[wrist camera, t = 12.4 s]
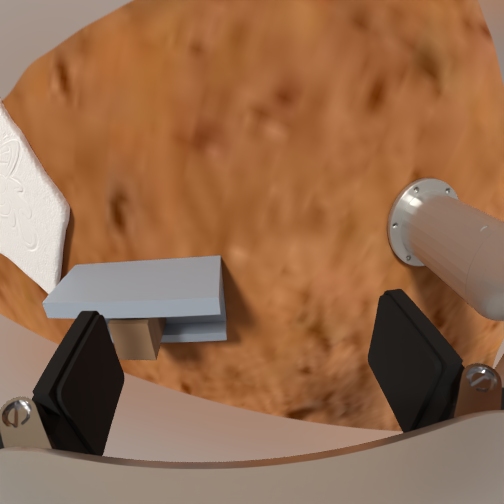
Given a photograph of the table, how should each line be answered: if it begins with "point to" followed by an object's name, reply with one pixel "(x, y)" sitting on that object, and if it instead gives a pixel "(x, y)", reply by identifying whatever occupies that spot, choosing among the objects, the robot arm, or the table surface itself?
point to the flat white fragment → (29, 209)
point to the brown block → (137, 337)
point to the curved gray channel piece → (149, 295)
